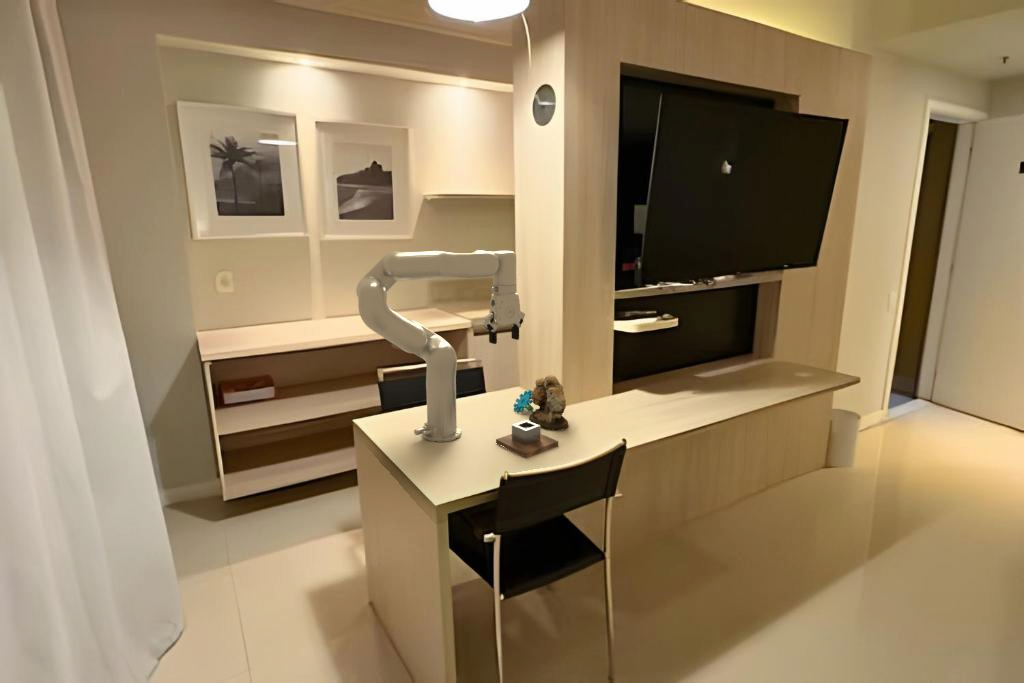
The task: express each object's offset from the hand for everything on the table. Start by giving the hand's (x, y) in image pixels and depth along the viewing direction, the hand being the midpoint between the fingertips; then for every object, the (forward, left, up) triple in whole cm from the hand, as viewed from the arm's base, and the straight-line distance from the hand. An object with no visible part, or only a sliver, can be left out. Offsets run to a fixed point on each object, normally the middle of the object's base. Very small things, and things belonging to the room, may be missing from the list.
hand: (504, 341), depth 183 cm
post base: (-4, -16, -30) cm, 34 cm away
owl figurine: (+15, -6, -31) cm, 35 cm away
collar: (-4, -16, -29) cm, 33 cm away
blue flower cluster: (+16, +7, -31) cm, 35 cm away
